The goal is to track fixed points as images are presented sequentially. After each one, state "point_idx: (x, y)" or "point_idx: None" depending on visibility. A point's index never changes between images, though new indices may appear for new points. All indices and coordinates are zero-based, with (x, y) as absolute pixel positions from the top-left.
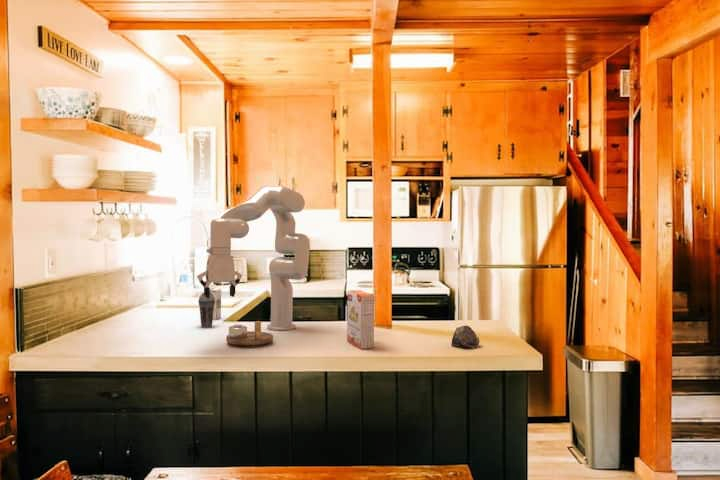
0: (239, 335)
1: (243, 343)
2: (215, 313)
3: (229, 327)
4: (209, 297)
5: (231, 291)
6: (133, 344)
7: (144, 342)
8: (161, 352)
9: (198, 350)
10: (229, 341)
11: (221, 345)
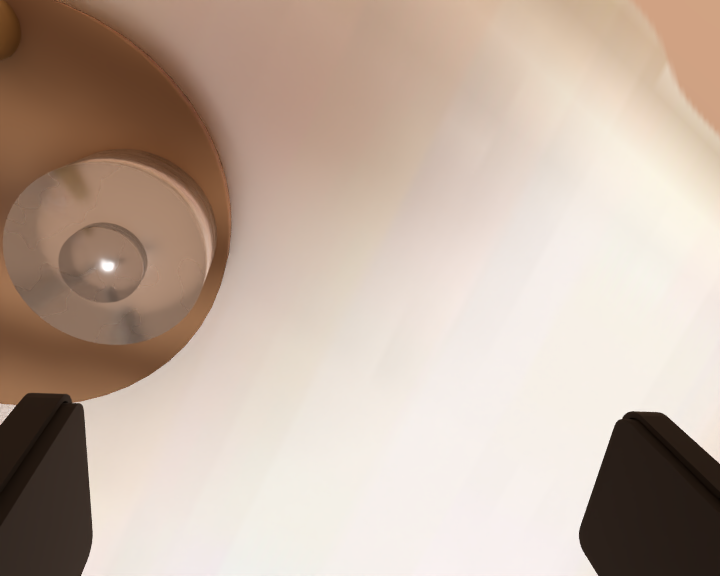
0: (141, 158)
1: (149, 57)
2: None
3: (191, 293)
4: (625, 418)
5: (38, 545)
6: None
7: None
8: (662, 284)
9: (470, 207)
10: (228, 204)
11: (270, 258)
